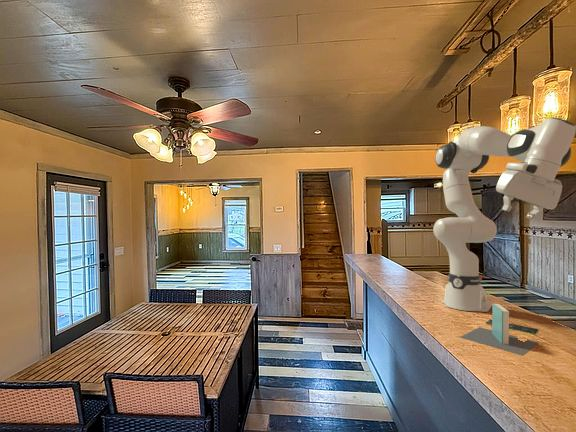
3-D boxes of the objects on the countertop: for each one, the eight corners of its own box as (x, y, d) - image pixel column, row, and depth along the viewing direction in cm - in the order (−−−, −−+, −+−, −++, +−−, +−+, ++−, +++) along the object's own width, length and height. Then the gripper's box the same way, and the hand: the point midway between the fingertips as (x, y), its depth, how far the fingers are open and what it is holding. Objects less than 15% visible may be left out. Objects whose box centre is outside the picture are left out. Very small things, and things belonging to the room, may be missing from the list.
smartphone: (489, 318, 122) (539, 329, 111) (489, 321, 122) (539, 331, 111) (484, 323, 116) (535, 334, 106) (484, 325, 116) (535, 337, 106)
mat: (479, 328, 113) (479, 327, 113) (539, 343, 99) (539, 342, 99) (459, 338, 103) (459, 337, 103) (522, 357, 89) (522, 355, 89)
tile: (498, 334, 106) (498, 304, 106) (508, 344, 97) (509, 311, 97) (492, 333, 106) (492, 303, 106) (501, 343, 97) (502, 311, 98)
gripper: (554, 180, 102) (535, 220, 105) (503, 161, 98) (484, 203, 101) (574, 183, 96) (553, 226, 99) (520, 163, 92) (499, 208, 95)
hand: (517, 214), depth 100 cm, fingers open, 8 cm apart
